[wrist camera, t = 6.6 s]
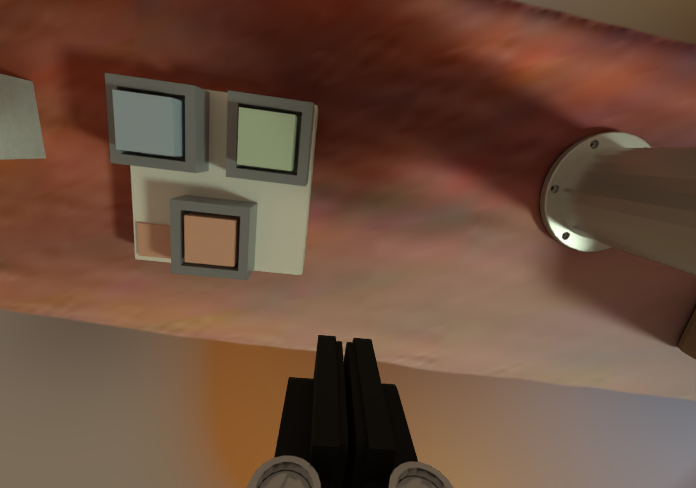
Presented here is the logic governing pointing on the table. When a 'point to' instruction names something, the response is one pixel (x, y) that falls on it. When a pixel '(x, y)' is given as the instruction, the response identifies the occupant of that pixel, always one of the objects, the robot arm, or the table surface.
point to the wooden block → (689, 338)
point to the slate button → (149, 123)
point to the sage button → (266, 139)
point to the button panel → (218, 182)
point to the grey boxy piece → (19, 120)
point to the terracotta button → (211, 238)
